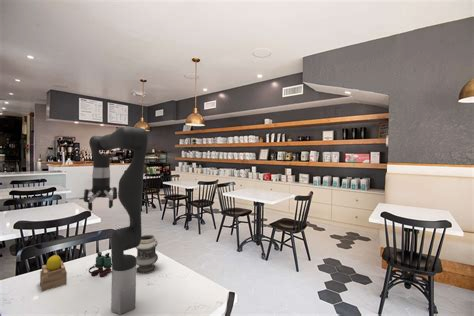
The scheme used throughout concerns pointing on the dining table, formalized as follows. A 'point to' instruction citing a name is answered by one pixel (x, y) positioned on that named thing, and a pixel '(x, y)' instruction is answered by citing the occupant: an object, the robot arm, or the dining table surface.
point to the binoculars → (102, 265)
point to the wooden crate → (53, 277)
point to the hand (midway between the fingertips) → (100, 209)
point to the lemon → (53, 263)
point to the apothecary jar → (146, 254)
